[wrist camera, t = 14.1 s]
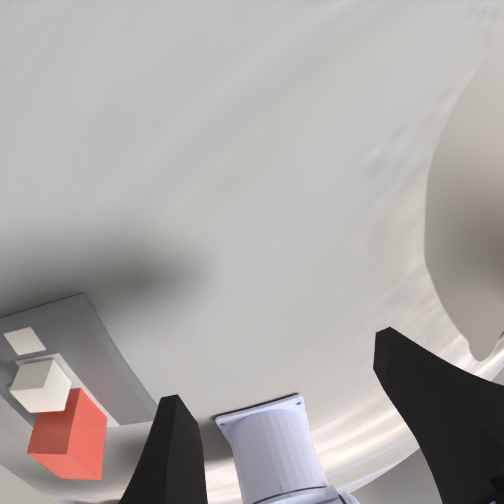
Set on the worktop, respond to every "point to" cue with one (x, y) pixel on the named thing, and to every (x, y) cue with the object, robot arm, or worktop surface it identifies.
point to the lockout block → (71, 438)
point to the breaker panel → (73, 358)
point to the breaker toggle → (41, 386)
